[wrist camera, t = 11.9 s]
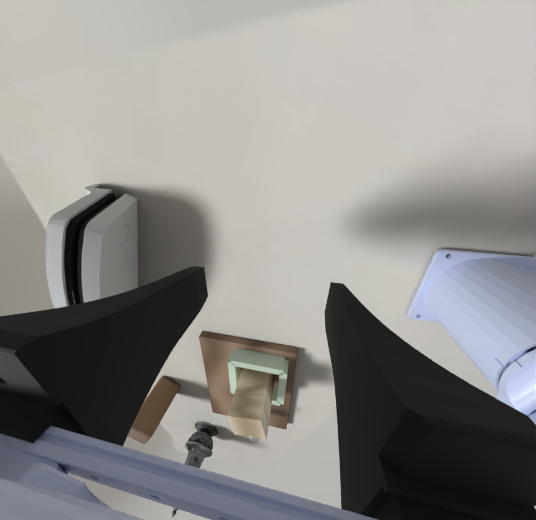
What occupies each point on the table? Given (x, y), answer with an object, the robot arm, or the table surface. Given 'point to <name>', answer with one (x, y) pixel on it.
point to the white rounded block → (92, 248)
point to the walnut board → (217, 372)
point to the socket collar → (259, 369)
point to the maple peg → (252, 404)
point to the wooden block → (153, 410)
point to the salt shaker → (199, 446)
